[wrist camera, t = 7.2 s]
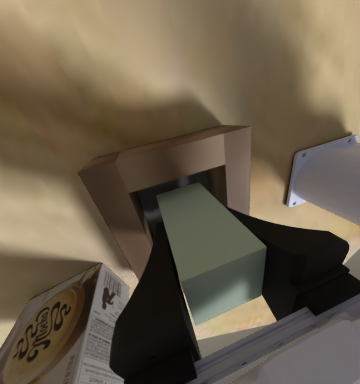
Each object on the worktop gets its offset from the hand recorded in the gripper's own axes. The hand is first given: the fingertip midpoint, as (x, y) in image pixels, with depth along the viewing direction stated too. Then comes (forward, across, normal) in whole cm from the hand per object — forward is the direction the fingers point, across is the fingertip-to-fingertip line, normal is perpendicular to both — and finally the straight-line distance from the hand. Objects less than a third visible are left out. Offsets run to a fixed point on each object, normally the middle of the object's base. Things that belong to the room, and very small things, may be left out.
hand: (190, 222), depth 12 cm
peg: (+2, 0, 0) cm, 2 cm away
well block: (+5, 0, +2) cm, 5 cm away
